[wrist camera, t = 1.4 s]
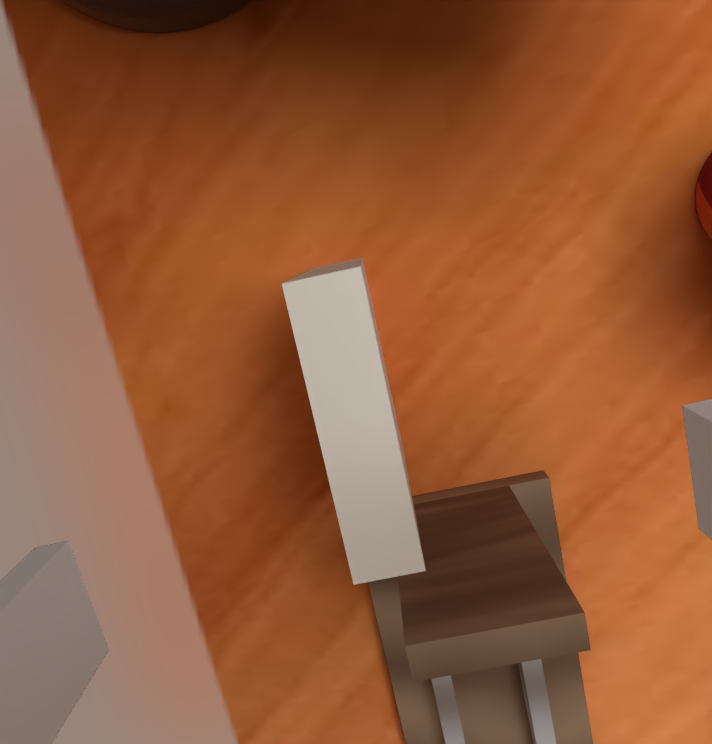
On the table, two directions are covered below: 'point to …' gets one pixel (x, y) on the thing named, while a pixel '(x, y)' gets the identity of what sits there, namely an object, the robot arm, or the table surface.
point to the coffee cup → (705, 197)
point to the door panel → (355, 419)
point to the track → (486, 622)
